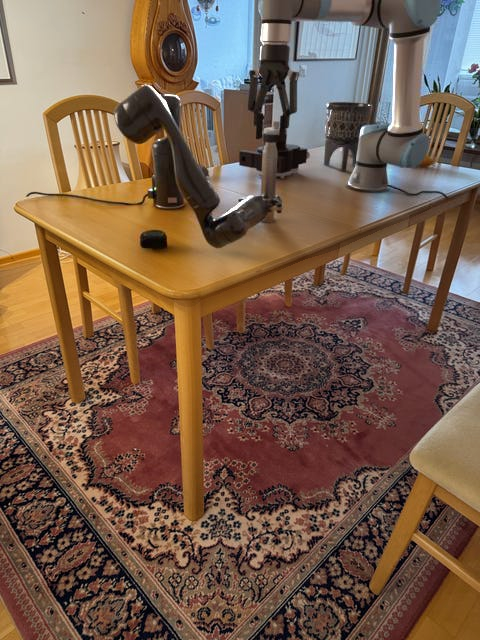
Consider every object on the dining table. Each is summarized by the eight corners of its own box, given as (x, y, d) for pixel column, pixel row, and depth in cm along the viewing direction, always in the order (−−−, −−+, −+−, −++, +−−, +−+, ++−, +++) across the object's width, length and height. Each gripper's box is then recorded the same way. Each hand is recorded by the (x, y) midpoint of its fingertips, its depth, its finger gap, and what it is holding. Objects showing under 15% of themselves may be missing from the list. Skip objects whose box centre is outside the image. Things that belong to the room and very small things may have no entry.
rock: (201, 174, 190) (201, 158, 187) (214, 178, 185) (214, 162, 181) (174, 179, 183) (173, 162, 179) (187, 183, 177) (186, 166, 174)
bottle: (257, 220, 139) (260, 135, 127) (264, 217, 142) (268, 133, 130) (269, 223, 137) (273, 136, 125) (276, 219, 140) (281, 135, 128)
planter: (313, 167, 208) (319, 103, 195) (331, 160, 222) (338, 101, 209) (353, 173, 199) (362, 107, 185) (369, 166, 213) (379, 104, 199)
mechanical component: (240, 120, 182) (283, 115, 202) (239, 174, 192) (280, 164, 212) (283, 126, 170) (325, 120, 190) (280, 183, 180) (320, 171, 200)
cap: (260, 141, 128) (260, 133, 127) (268, 139, 131) (268, 132, 130) (273, 143, 126) (273, 135, 125) (280, 141, 129) (281, 133, 128)
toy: (409, 160, 208) (403, 153, 221) (411, 174, 211) (405, 166, 224) (434, 152, 205) (427, 146, 218) (436, 166, 208) (429, 159, 221)
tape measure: (140, 252, 115) (139, 238, 113) (141, 242, 120) (140, 229, 119) (167, 251, 116) (166, 237, 114) (167, 241, 121) (166, 228, 120)
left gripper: (275, 202, 121) (294, 188, 135) (226, 195, 126) (249, 182, 139) (273, 229, 125) (292, 212, 138) (226, 222, 130) (248, 206, 143)
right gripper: (316, 45, 116) (307, 141, 127) (248, 44, 123) (245, 135, 135) (305, 44, 110) (297, 144, 121) (235, 43, 117) (233, 138, 129)
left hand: (270, 197), depth 139 cm, fingers closed on bottle, 4 cm apart
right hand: (270, 139), depth 128 cm, fingers open, 6 cm apart
